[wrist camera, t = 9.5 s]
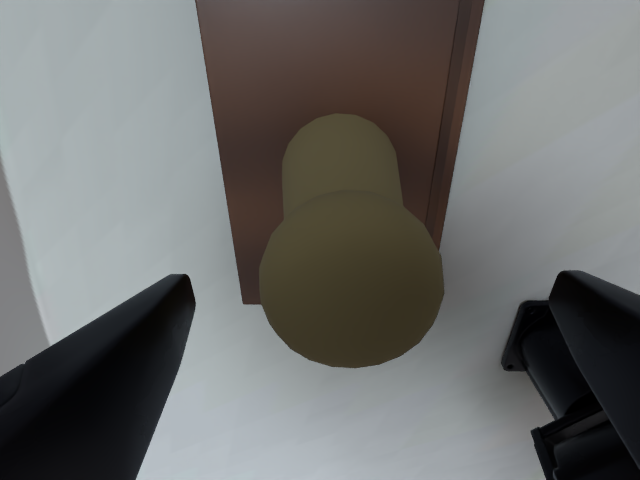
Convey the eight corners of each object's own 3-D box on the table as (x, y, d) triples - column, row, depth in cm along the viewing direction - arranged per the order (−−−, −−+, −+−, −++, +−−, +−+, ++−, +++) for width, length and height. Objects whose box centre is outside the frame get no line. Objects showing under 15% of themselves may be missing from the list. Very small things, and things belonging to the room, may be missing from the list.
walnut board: (423, 290, 24) (429, 306, 22) (247, 290, 24) (242, 305, 23) (480, -50, 15) (496, -59, 13) (198, -44, 15) (185, -53, 14)
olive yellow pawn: (289, 229, 20) (254, 405, 10) (273, 118, 17) (203, 221, 7) (397, 222, 20) (464, 397, 10) (399, 107, 17) (500, 201, 7)
